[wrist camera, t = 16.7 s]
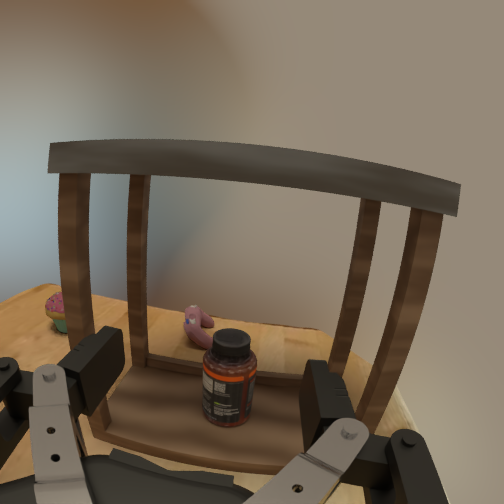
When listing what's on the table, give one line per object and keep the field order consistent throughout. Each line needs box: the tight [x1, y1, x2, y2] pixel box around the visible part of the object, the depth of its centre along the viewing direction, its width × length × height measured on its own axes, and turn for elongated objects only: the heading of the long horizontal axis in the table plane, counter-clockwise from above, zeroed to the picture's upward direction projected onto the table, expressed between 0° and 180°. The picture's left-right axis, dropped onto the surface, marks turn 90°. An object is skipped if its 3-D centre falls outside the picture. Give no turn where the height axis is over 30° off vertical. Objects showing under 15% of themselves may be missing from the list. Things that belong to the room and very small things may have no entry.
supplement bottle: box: [202, 328, 257, 427], centre depth 32 cm, size 6×6×11 cm
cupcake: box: [45, 292, 67, 333], centre depth 48 cm, size 9×8×12 cm
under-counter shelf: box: [48, 139, 461, 475], centre depth 30 cm, size 17×32×32 cm, turn 87°
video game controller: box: [184, 305, 214, 349], centre depth 54 cm, size 10×5×7 cm, turn 9°
